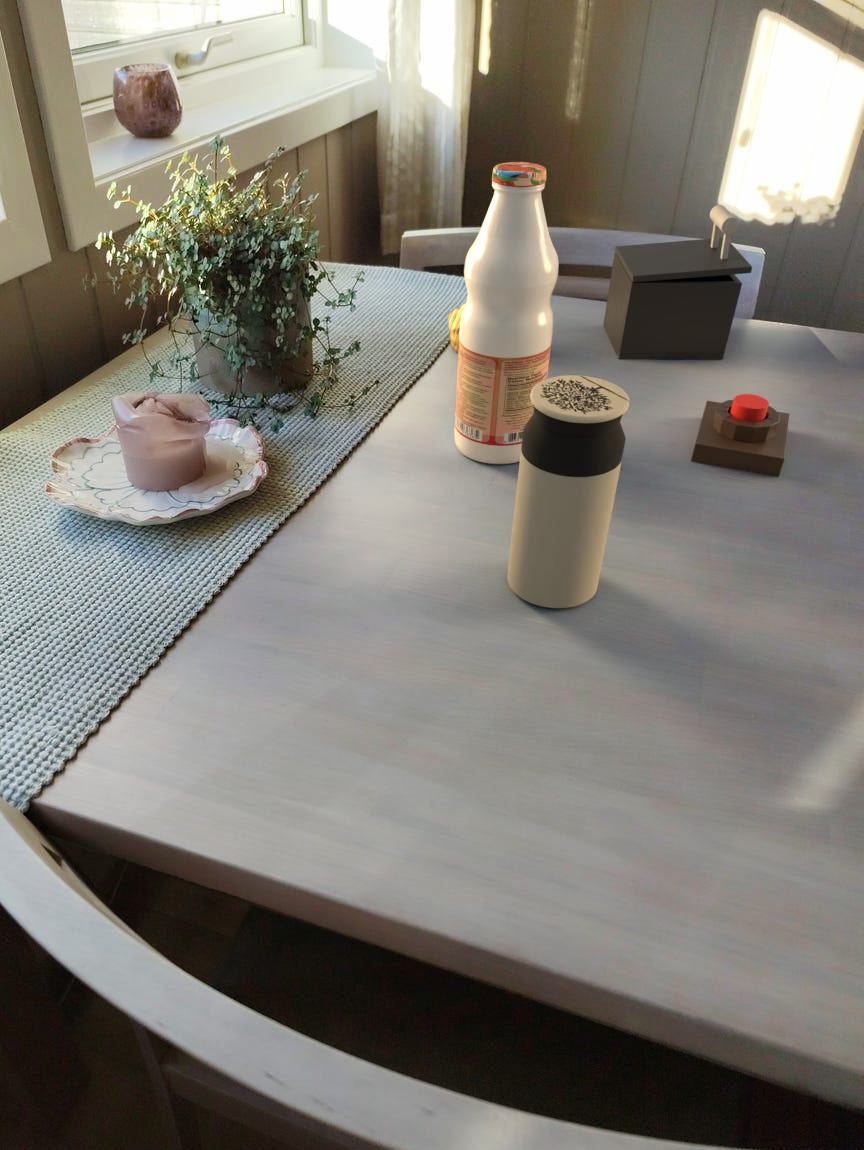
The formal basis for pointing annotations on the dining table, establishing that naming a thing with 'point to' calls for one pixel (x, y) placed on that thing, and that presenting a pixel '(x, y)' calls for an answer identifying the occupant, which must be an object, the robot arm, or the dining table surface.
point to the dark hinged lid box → (670, 316)
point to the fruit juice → (505, 317)
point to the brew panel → (741, 440)
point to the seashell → (455, 327)
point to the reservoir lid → (687, 255)
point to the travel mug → (566, 489)
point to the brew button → (749, 408)
